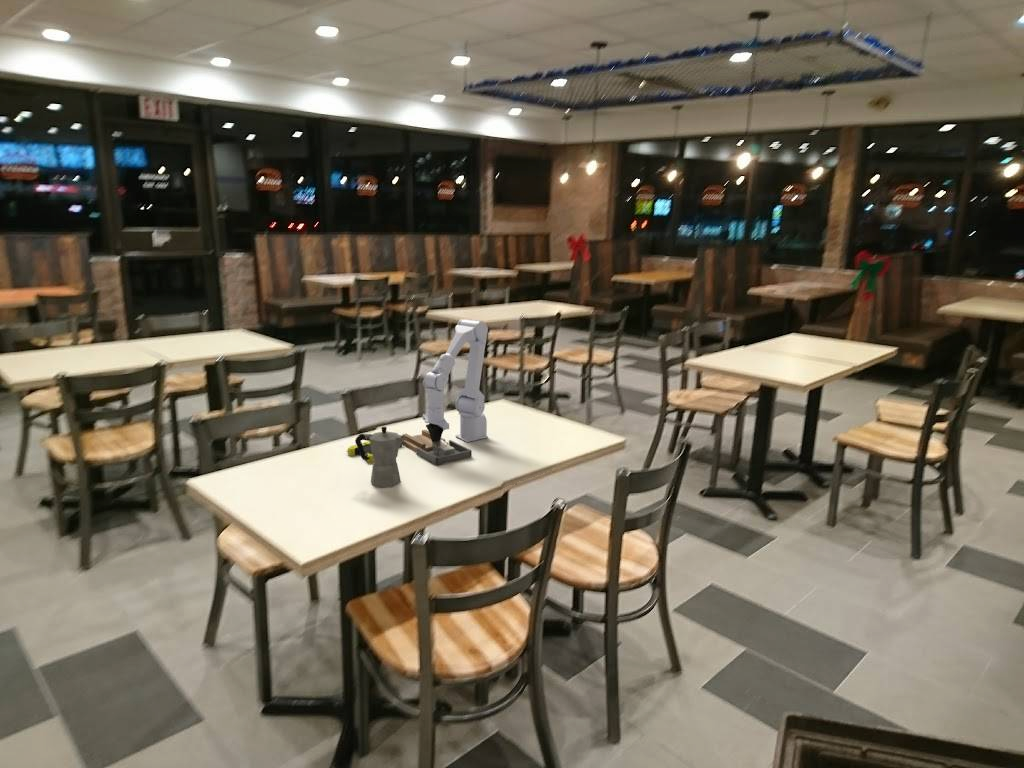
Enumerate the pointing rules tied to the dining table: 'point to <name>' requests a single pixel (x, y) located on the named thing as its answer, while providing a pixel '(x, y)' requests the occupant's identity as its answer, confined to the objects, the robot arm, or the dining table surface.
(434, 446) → the block
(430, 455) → the tray
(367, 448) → the stun gun
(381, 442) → the coffeepot
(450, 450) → the chip front
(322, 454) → the dining table surface
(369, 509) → the dining table surface
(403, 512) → the dining table surface
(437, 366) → the robot arm
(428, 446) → the slot board
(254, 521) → the dining table surface
